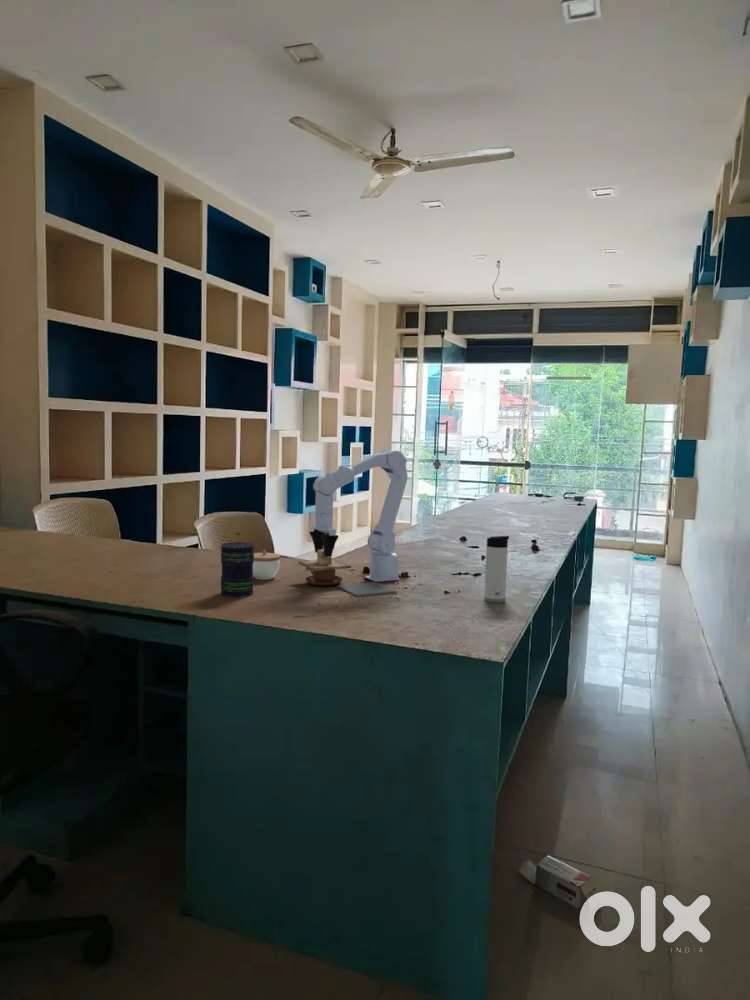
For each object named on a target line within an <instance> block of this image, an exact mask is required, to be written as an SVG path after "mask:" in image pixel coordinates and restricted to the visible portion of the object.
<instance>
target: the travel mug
mask: <svg viewBox="0 0 750 1000" xmlns="http://www.w3.org/2000/svg"><path fill="white" fill-rule="evenodd" d="M509 539H510V536H509V535H499V536H498V535H497V536H495V535H494V536H490V537H487V539H486V552H485V554H486V555H485V570H484V571H485V573H484V574H485V576H484V597H483V598H484V601H485V602H487V603H493V604H494V603H495V604H499V603H500V604H501V603H504V602H506V593H507V592H506V591H507V590H506V588H507V572H508V571H507V569H508V548H509V547H508V542H509Z"/></svg>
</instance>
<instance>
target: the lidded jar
mask: <svg viewBox="0 0 750 1000" xmlns="http://www.w3.org/2000/svg"><path fill="white" fill-rule="evenodd" d="M253 553H254V557H253V558H254V563H253V578H255V579H256V580H263V581H265V580H272V579H274V577H275V576H276V575H277V573H278V572H279V569H280V566H281V554H279V553H276V552H267V551H266V550H265V549H264V550H262V552H253Z"/></svg>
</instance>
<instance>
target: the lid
mask: <svg viewBox="0 0 750 1000" xmlns="http://www.w3.org/2000/svg"><path fill="white" fill-rule="evenodd" d="M332 557H333V555H332V556H329V557H325V555H324V548H323V549H319V550H317V553H316V559H313V560H311V559H310V560H298V562H297V563H298V565H300V566H302V567H305V568H306V569H309V570H310V571H311V570H312V571H318V570H332V569H335V570H342V569H343V570H345V569H351V568H352V565H350V564H348V563H346V562H342V561H340V560H339V559H335V558H332Z"/></svg>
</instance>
